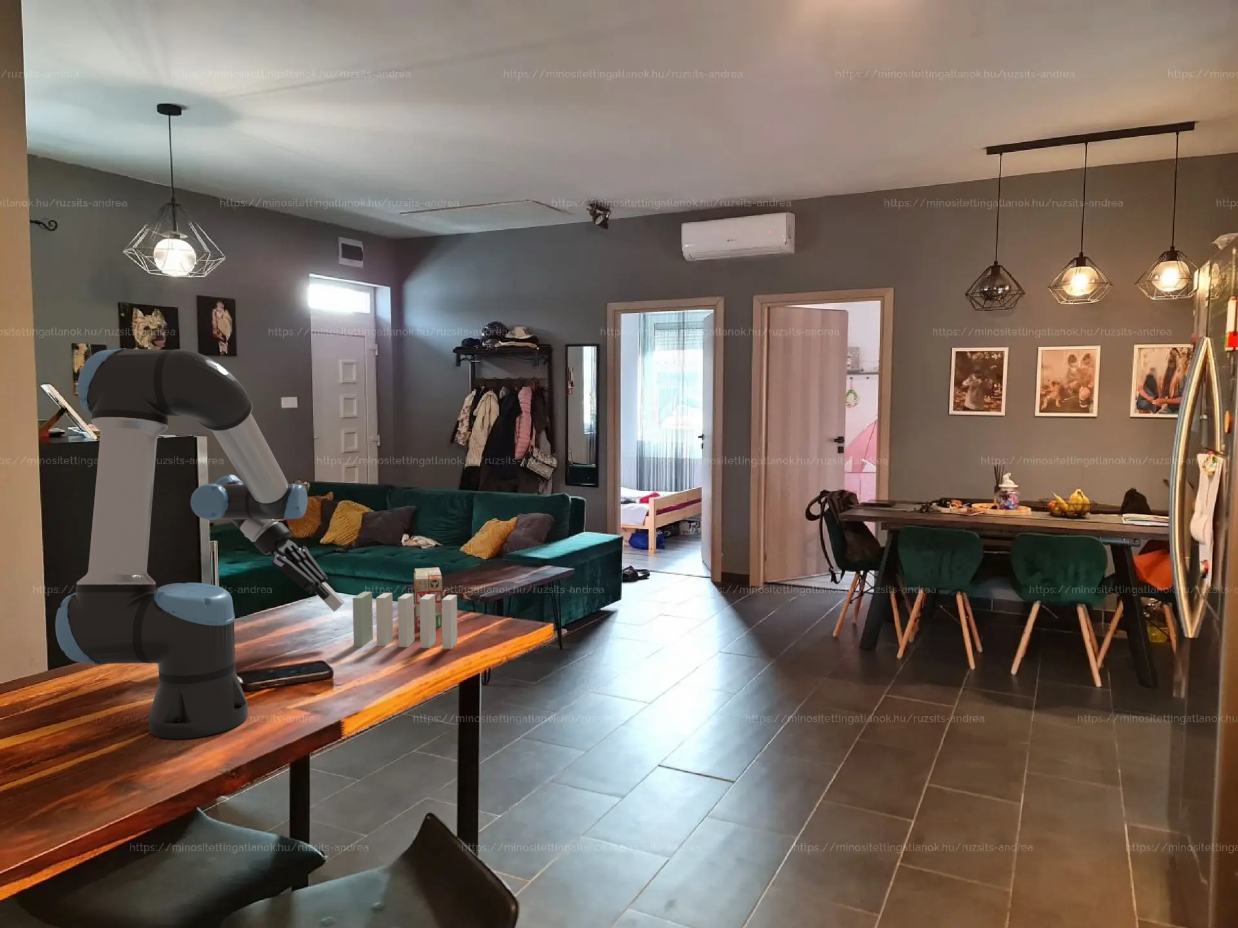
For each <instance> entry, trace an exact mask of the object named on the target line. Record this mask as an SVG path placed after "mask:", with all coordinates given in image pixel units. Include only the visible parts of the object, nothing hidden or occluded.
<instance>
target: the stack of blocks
mask: <svg viewBox="0 0 1238 928" xmlns="http://www.w3.org/2000/svg"><path fill="white" fill-rule="evenodd" d="M442 577H443V576H442V573H441V570H440V567H422V568H414V572H413V583H414V584H413V585H414V586H413V587H414V616H415V629H420V599H421V598H422V597H423V596H425V595H426V594H435V619H436V628H442V599H443V578H442Z"/></svg>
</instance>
